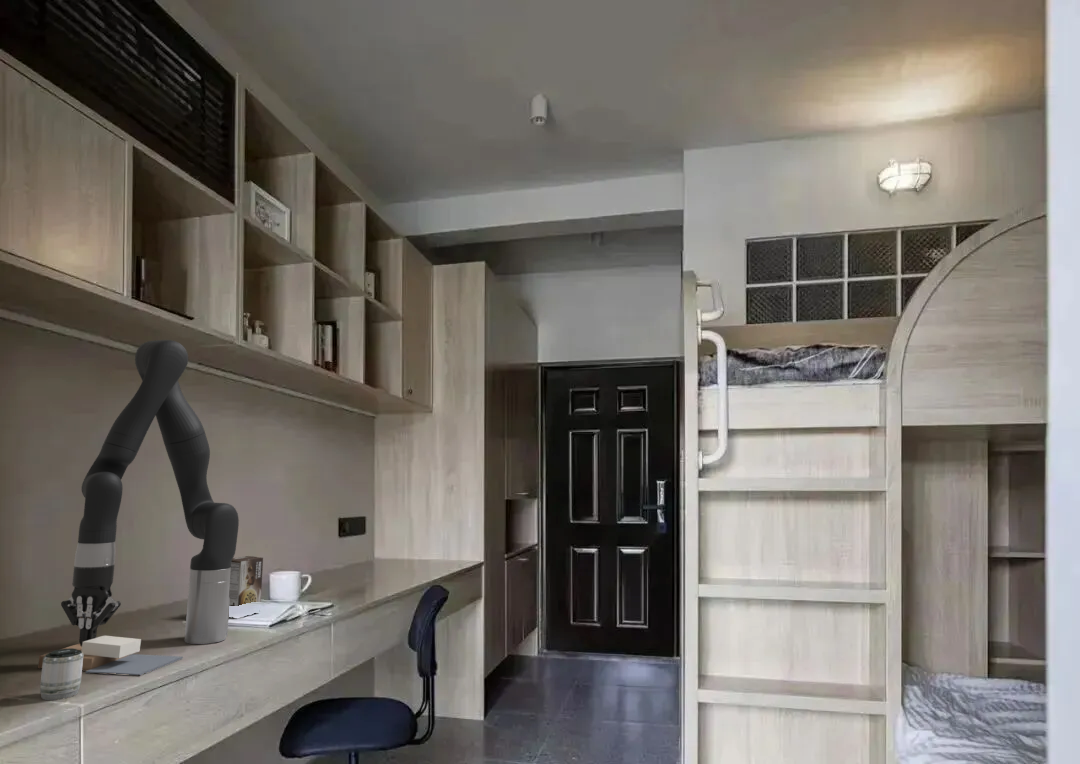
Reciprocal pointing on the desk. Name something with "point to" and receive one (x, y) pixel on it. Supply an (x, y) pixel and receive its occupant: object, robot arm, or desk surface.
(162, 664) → the mat
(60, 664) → the camera lens
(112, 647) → the white box
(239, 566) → the coffee box
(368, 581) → the desk surface
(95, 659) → the plate
